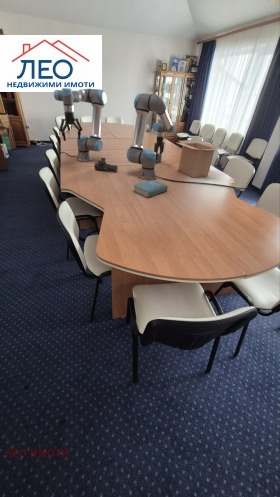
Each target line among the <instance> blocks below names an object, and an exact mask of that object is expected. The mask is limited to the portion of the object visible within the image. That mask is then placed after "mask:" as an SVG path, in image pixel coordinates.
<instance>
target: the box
mask: <svg viewBox="0 0 280 497" xmlns="http://www.w3.org/2000/svg"><path fill="white" fill-rule="evenodd" d="M176 144H178V145H180V146H181V151H180V158H179V163H178V171H179V172H181V173H183V174H186V175H188V176H190V177H191V178H193V179H195V178H202V177H209V175H210V169H211V166H212V161H213V159H214V158H213V157H214V153H215V150H218V149H222V146H219V145H215V144H212V143H209V142H206V141H199V142H196V141H193V140H190V139H189V140H177V142H176Z"/></svg>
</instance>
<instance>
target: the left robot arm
mask: <svg viewBox="0 0 280 497" xmlns="http://www.w3.org/2000/svg"><path fill="white" fill-rule="evenodd" d="M53 97H54V100H56V101H58V102H62V105H63V111H64V112H63V114H64V118H60V119H61V121H60V126H59V128H58V131H59V132H60V133H61V137H62V138H63V141H64V142H66V141H67V140H66V139H67V138H66V132H65V131H66V129H67V127H68V126H71V125H73V126H74V127H75V129H76V130H77V137H76V143H77V155H70V154H68V153H67V152H65V151H60V152H59V154H66V155H67V156H68V157H72V158H73V157H74V158H76V159H77V161H79V162H91V161H92V159H93V158H92V155H91V153H90V151H91V152H101V151H102V150H103V147H104V141H103V140H102V137H101V126H102V114H103V113H102V112H103V109H104V107H105V105H106V104H107V101H108V99H107V94H106V92H105V90H104V89H101V88H100V89H99V88H98V89H97V88H84V89H83V88H82V89H78V90H72V89H71V88H68V87H67V88H66V87H62V88H61V89H54V91H53ZM80 102H81V103H88V104H91V106H92V114H91V115H92V117H91V130H90V131H91V132H90V135H82V131H83V127H82V126H81V123H80V122H79V118H77V117H75V112H74V110H75V109H74V103H80Z"/></svg>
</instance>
